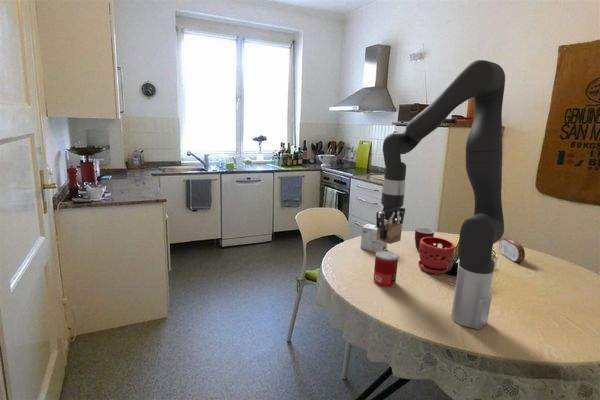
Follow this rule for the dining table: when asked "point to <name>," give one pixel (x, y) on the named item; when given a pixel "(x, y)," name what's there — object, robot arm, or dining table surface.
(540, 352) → the dining table surface
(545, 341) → the dining table surface
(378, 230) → the walnut block
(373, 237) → the light bulb box
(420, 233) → the mug
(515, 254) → the tin
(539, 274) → the dining table surface
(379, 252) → the canned food
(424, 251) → the plant pot
